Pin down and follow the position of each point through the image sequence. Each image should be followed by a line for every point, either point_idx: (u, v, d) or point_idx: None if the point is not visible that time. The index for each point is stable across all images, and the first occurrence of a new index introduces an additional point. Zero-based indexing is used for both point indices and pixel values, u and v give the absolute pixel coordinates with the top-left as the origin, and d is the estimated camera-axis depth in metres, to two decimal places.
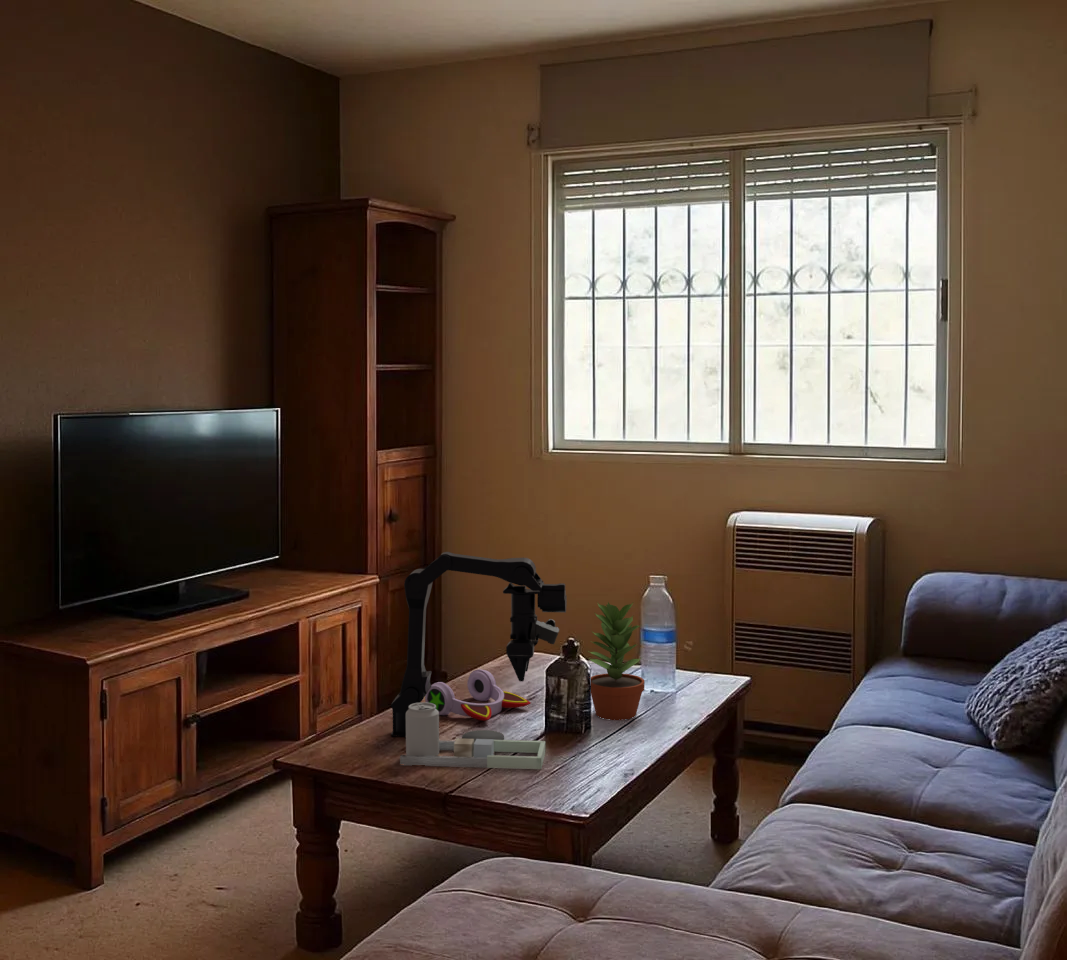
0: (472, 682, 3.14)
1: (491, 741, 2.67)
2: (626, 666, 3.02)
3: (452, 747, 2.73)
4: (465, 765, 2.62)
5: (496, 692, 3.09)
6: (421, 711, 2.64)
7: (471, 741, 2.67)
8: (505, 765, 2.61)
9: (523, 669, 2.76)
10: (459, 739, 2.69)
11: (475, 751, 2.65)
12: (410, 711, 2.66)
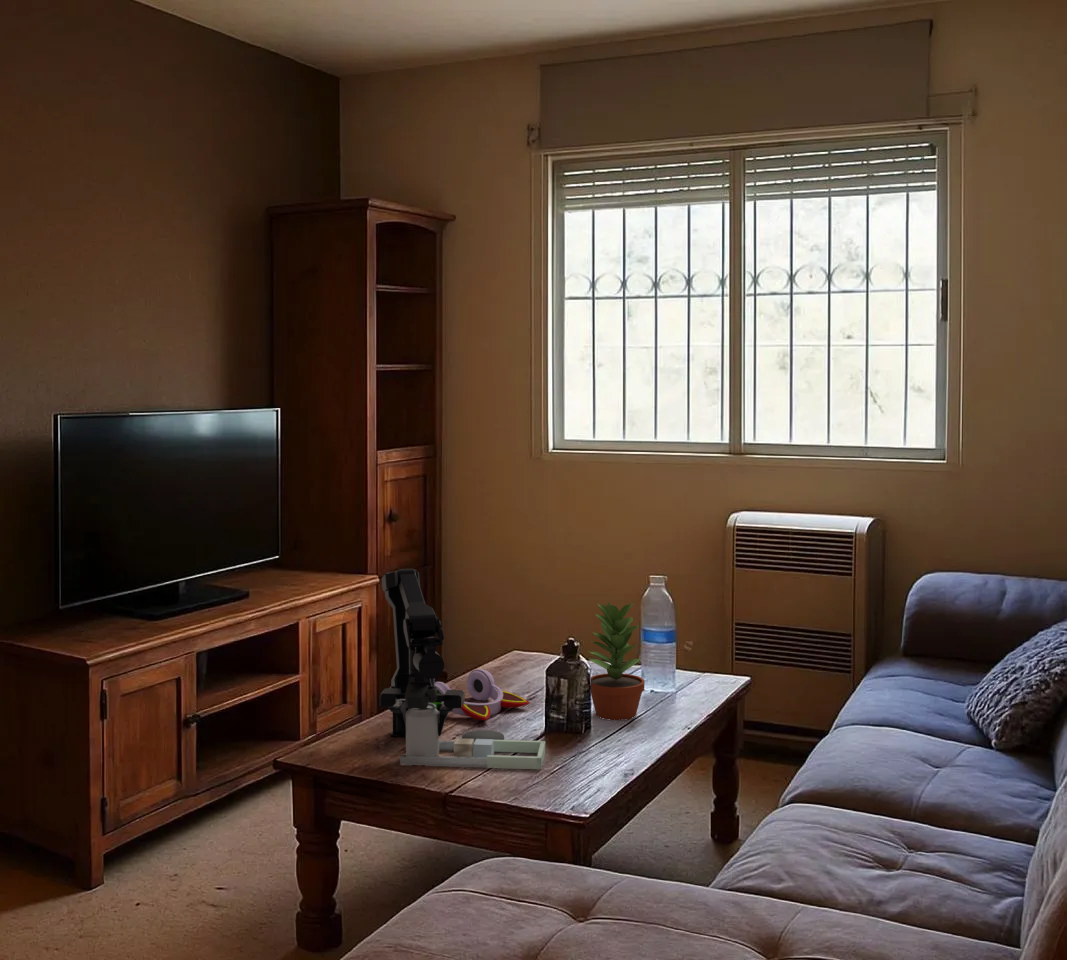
0: (471, 682, 3.14)
1: (491, 741, 2.67)
2: (626, 666, 3.02)
3: (452, 747, 2.73)
4: (465, 765, 2.62)
5: (495, 692, 3.09)
6: (421, 711, 2.64)
7: (471, 741, 2.67)
8: (505, 765, 2.61)
9: None
10: (459, 739, 2.69)
11: (475, 751, 2.65)
12: (410, 711, 2.66)
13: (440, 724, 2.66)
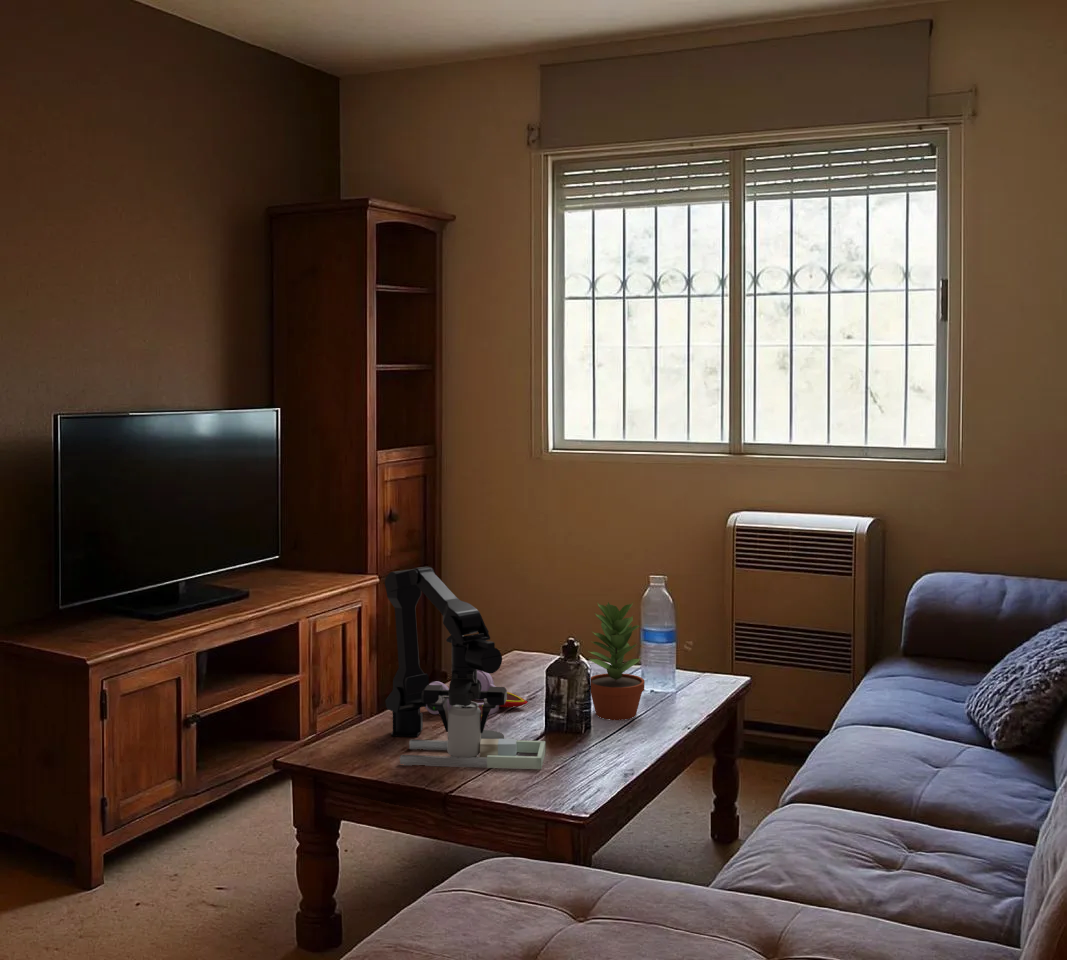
0: None
1: (514, 740, 2.67)
2: (626, 666, 3.02)
3: None
4: (465, 765, 2.62)
5: None
6: (464, 709, 2.63)
7: (496, 741, 2.67)
8: (505, 765, 2.61)
9: None
10: (484, 739, 2.68)
11: (499, 751, 2.65)
12: (453, 709, 2.65)
13: (482, 721, 2.65)
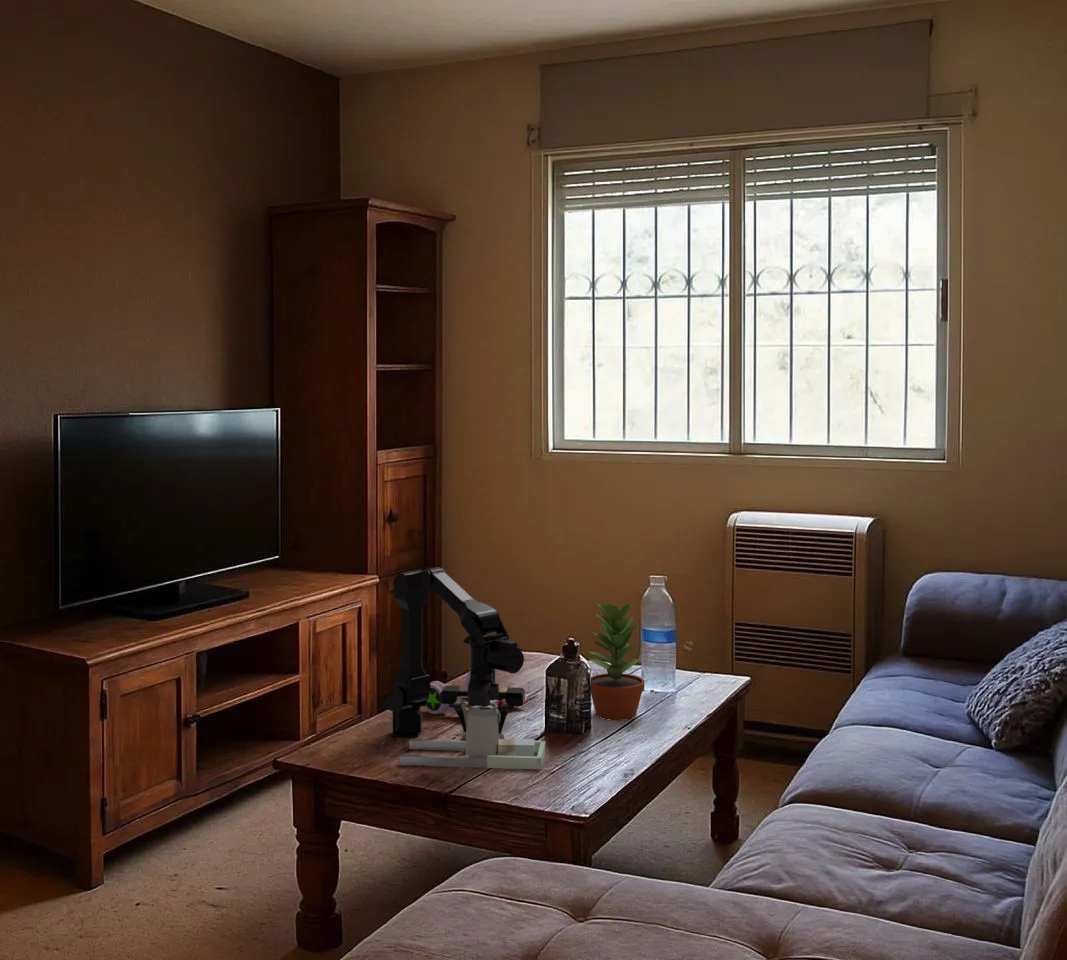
0: None
1: (532, 741, 2.67)
2: (626, 666, 3.02)
3: (452, 747, 2.73)
4: (465, 765, 2.62)
5: None
6: (482, 710, 2.63)
7: (515, 742, 2.66)
8: (505, 765, 2.61)
9: None
10: (502, 740, 2.68)
11: (517, 752, 2.65)
12: (471, 710, 2.64)
13: (501, 722, 2.65)
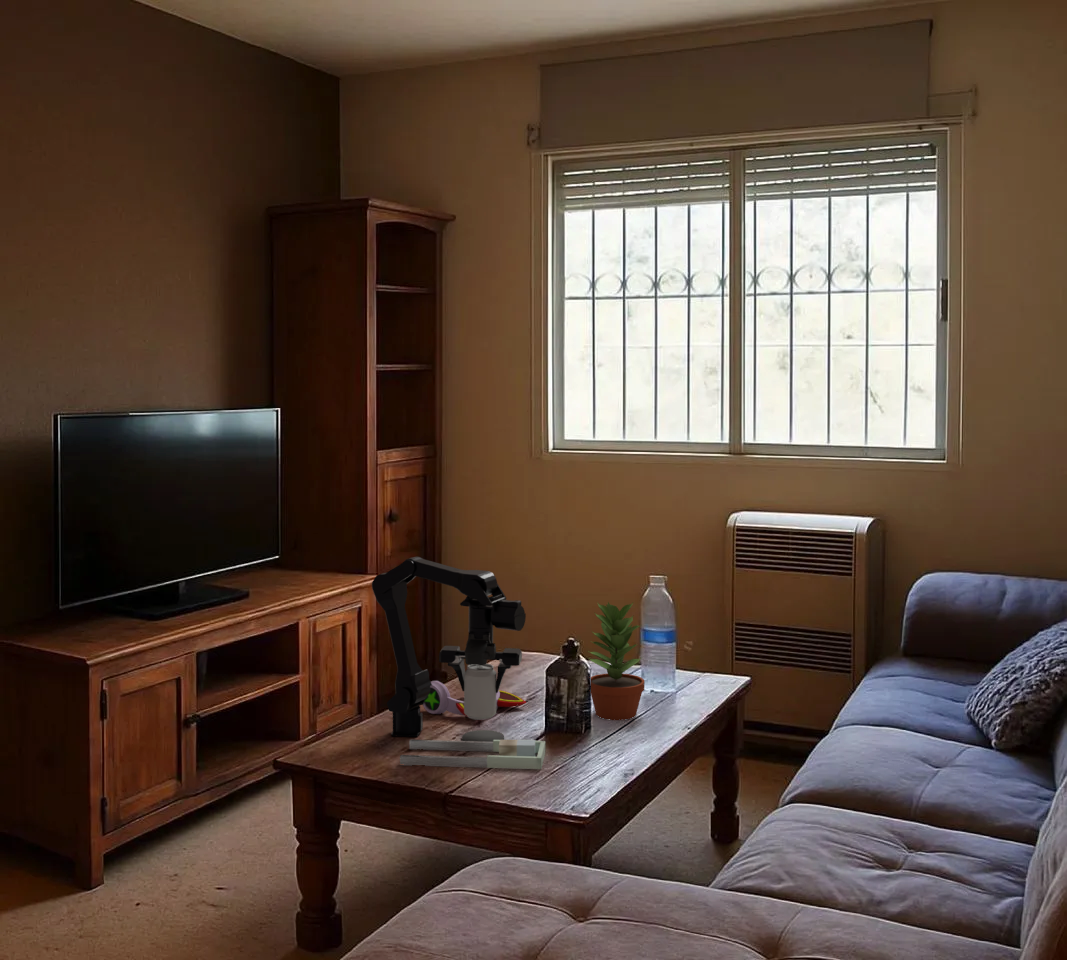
0: None
1: (533, 741, 2.67)
2: (626, 666, 3.02)
3: (452, 747, 2.73)
4: (465, 765, 2.62)
5: None
6: (479, 671, 2.72)
7: (515, 742, 2.66)
8: (505, 765, 2.61)
9: None
10: (503, 740, 2.68)
11: (518, 752, 2.65)
12: (468, 671, 2.74)
13: (498, 681, 2.74)
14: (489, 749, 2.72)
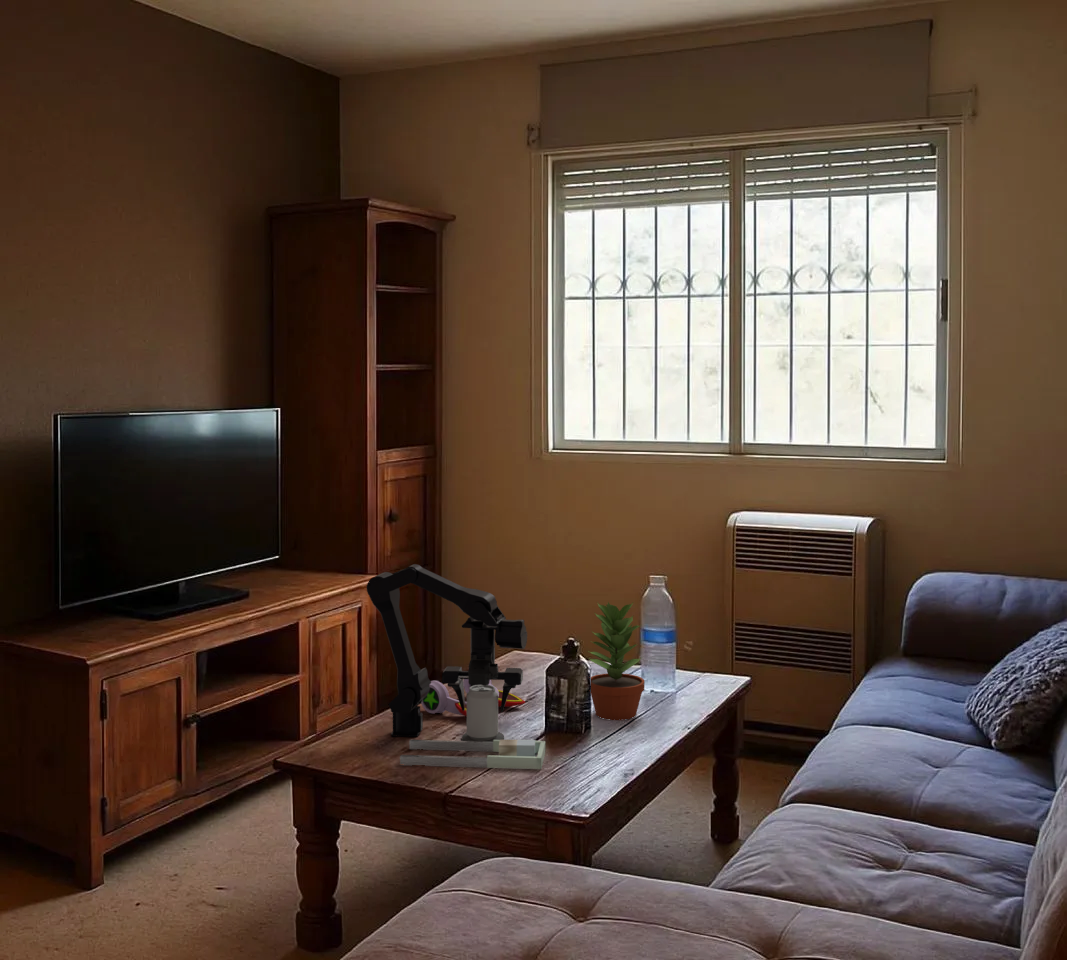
0: (468, 681, 3.15)
1: (533, 741, 2.67)
2: (626, 666, 3.02)
3: (452, 747, 2.73)
4: (465, 765, 2.62)
5: None
6: (481, 692, 2.77)
7: (515, 742, 2.66)
8: (505, 765, 2.61)
9: None
10: (503, 740, 2.68)
11: (518, 752, 2.65)
12: (471, 692, 2.79)
13: (503, 700, 2.79)
14: (489, 749, 2.72)
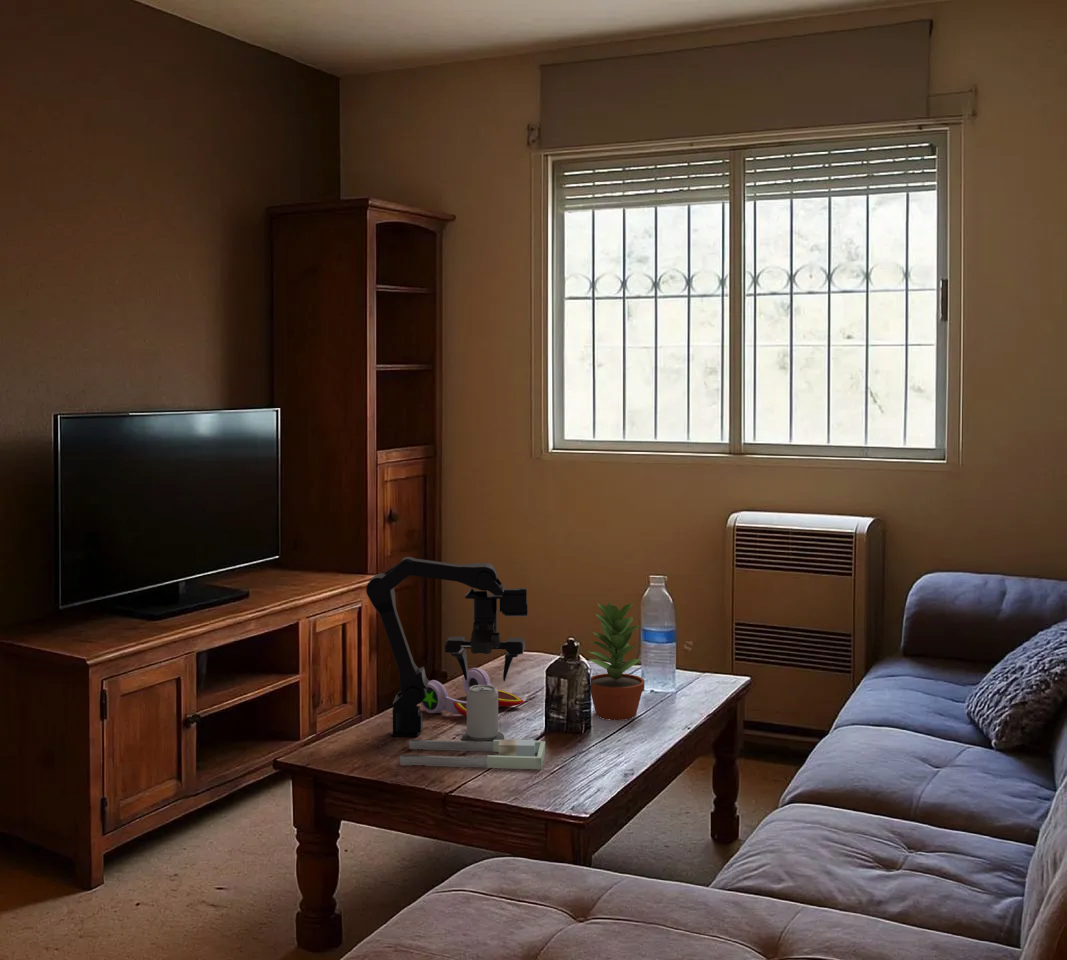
0: (467, 680, 3.16)
1: (533, 742, 2.67)
2: (626, 666, 3.02)
3: (452, 747, 2.73)
4: (465, 765, 2.62)
5: None
6: (481, 692, 2.77)
7: (515, 742, 2.66)
8: (505, 765, 2.61)
9: None
10: (503, 740, 2.68)
11: (518, 752, 2.65)
12: (471, 692, 2.79)
13: (505, 669, 2.83)
14: (489, 749, 2.72)
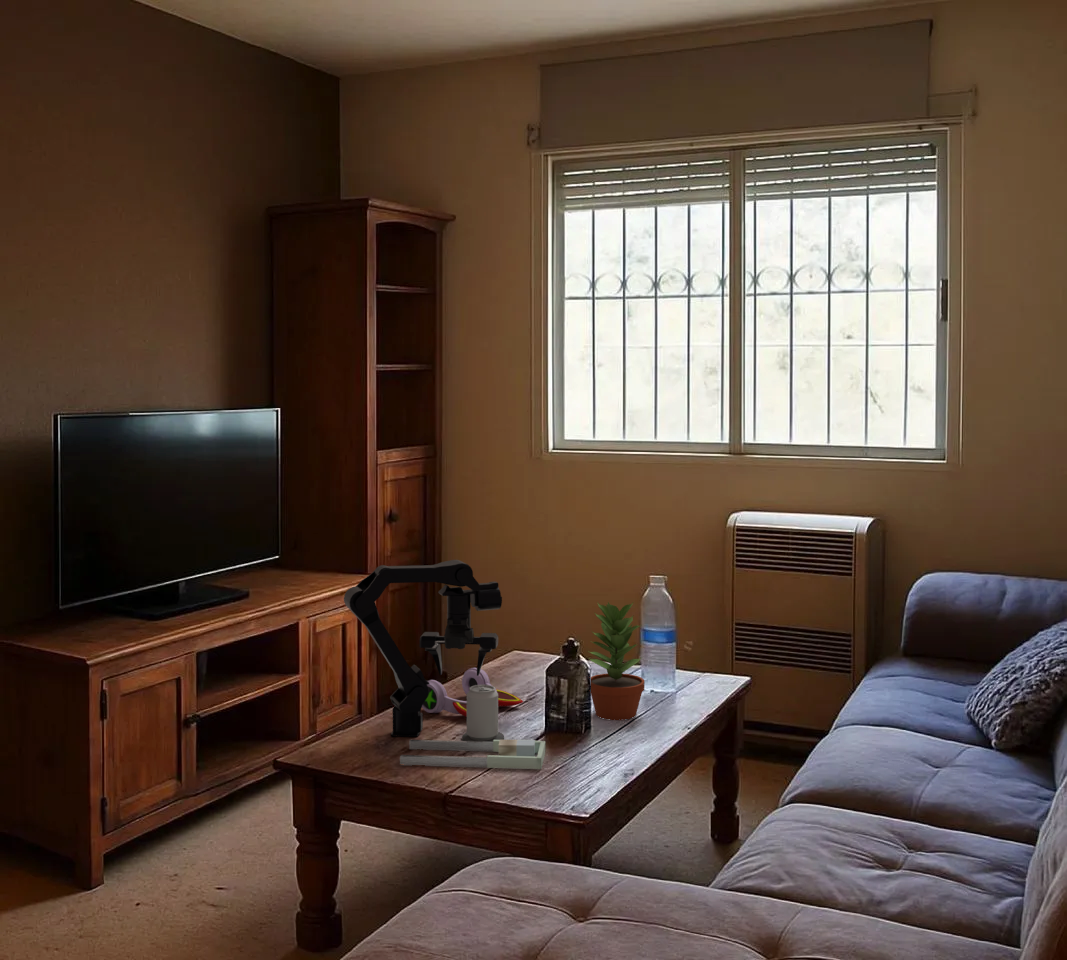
0: (466, 680, 3.16)
1: (533, 741, 2.67)
2: (626, 666, 3.02)
3: (452, 747, 2.73)
4: (465, 765, 2.62)
5: None
6: (481, 692, 2.77)
7: (515, 742, 2.66)
8: (505, 765, 2.61)
9: None
10: (503, 740, 2.68)
11: (518, 752, 2.65)
12: (471, 692, 2.79)
13: (478, 664, 2.88)
14: (489, 749, 2.72)
